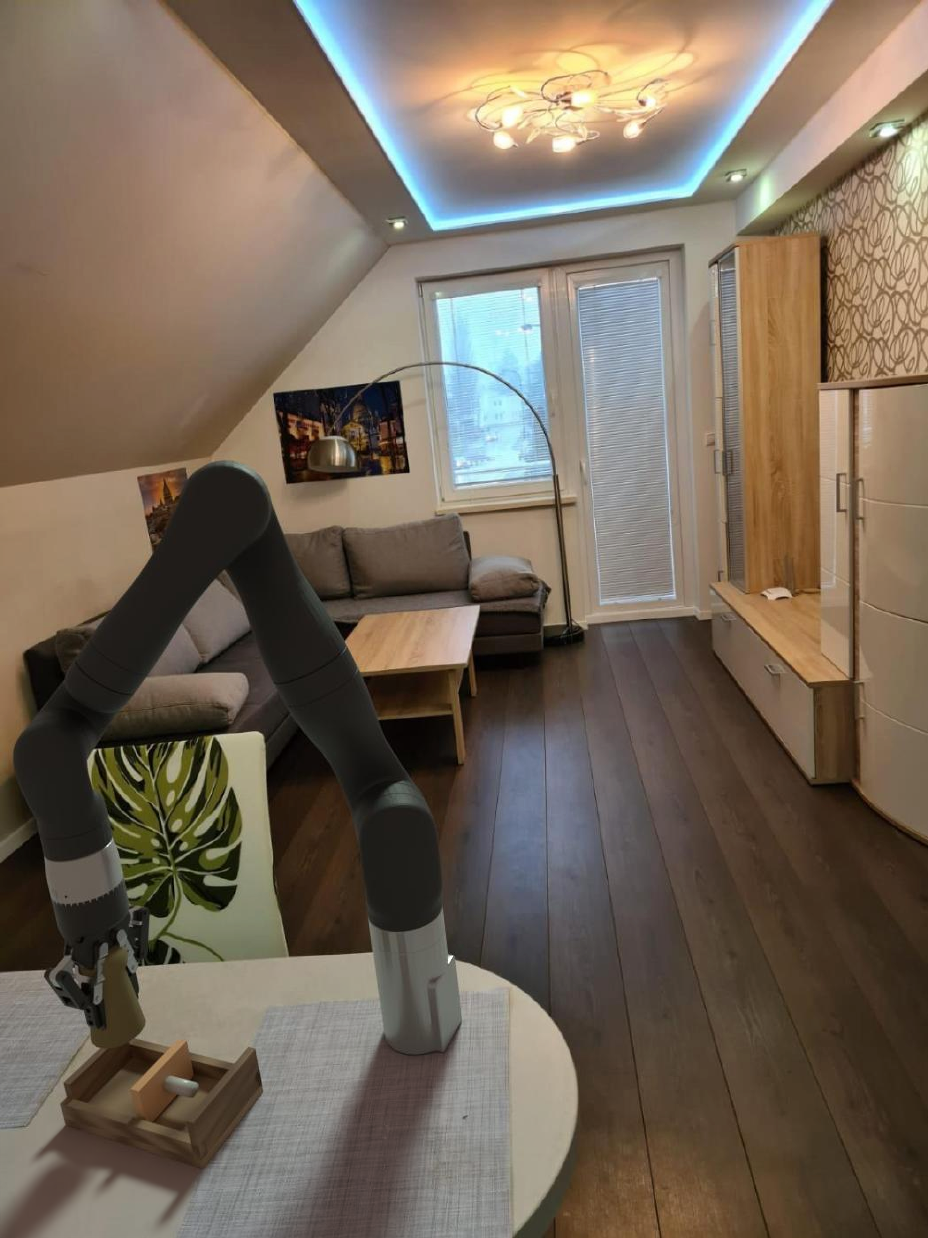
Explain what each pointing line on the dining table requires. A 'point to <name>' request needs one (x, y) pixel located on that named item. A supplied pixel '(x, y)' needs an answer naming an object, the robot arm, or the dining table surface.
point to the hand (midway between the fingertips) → (115, 1013)
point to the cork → (117, 1002)
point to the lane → (185, 1122)
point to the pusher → (164, 1082)
